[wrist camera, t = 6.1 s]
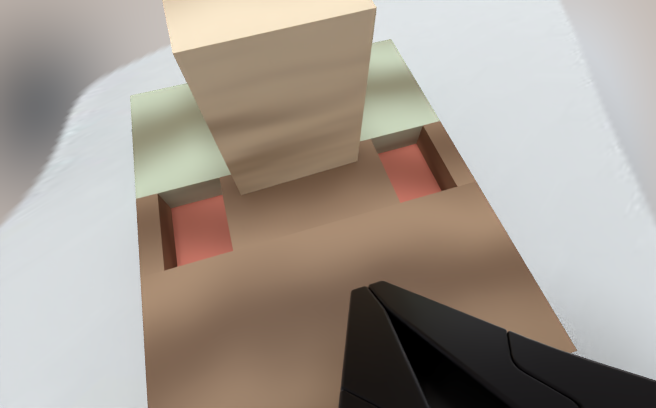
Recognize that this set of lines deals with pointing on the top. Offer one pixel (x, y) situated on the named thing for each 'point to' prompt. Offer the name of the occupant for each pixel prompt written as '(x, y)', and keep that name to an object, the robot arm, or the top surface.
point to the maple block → (276, 81)
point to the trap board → (308, 250)
